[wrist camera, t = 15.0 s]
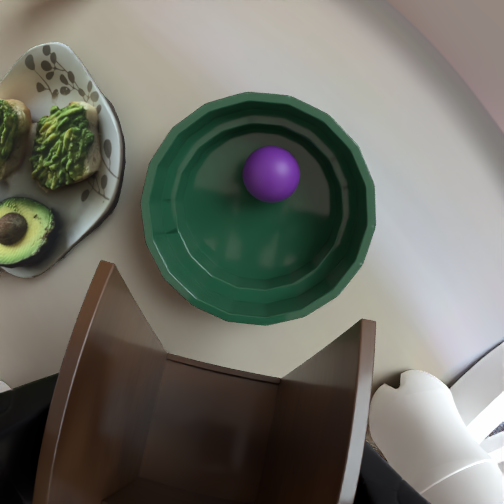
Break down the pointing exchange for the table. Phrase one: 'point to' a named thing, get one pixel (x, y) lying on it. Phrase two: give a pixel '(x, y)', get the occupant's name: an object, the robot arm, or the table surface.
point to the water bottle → (432, 443)
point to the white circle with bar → (484, 402)
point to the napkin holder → (198, 418)
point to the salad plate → (54, 159)
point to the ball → (271, 174)
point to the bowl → (257, 210)
